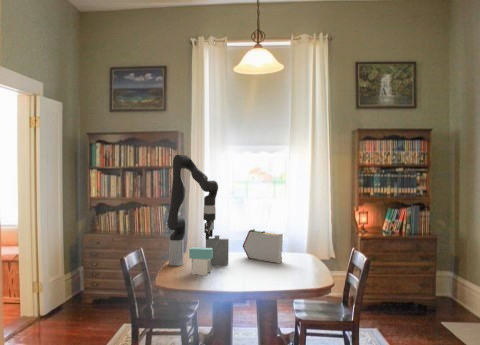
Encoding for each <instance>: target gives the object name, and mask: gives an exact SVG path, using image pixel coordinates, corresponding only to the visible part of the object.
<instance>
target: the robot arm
mask: <svg viewBox="0 0 480 345" xmlns="http://www.w3.org/2000/svg"><path fill="white" fill-rule="evenodd" d="M182 169H183V170H185V169H186V170H188V171H189V172H190V174H191V177H192V179H193V180H194V181H195V182H196V183H197V184H198V185H199V187H200V188H201V190H202V191H203V192H206V193H208V194H207V195H205V196H204V197H203V216H202V217H203V221H206V222H204V231H203V232H204V233H205V240H206V239H207V240H209V238H213V237H214V235H213V231H214V229H215V227H214V226H215V225H214V224H215V221H216V214H217V213H216V211H217V209H216V197H217V195H218V190H219V184H218V182H217V180H209V179H208V176H207V175H206V174H205V173H204V172H203V171H202V170H200V168H198V166H197V165H196V164H195V163H194V161H193V160H192V158H191V157H190V156H188V155H185V154H175V155H174V157H173V160H172V182H171V183H172V184H171V191H170V192H171V193H170V194H171V195H170V206H169V211H168V216H167V227H168V229H169V230H170V231H173V232H172V233H171V234H170V236H169V251H168V266H172V267H178V266H179V267H180V266H183V265H184V238H185V234H186V220H185V218H184V216H183V215H179V210H180V208H181V206H182V204H183V203H184V201H185V197H186V186H185V183H184V181H183V178H182Z"/></svg>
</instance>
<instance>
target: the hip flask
mask: <svg viewBox="0 0 480 345" xmlns="http://www.w3.org/2000/svg"><path fill="white" fill-rule="evenodd" d="M229 243H230V242H229V238H220V235H213V237H209V240H207V239H205V248H213V258H212V259H210V266H211V265H212V266H229V247H230V246H229Z"/></svg>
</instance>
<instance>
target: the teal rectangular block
mask: <svg viewBox="0 0 480 345" xmlns="http://www.w3.org/2000/svg"><path fill="white" fill-rule="evenodd" d="M188 252H189V253H188V255H189V257H188V258H189V259H191V260H192V259H212V258H213V248H206V247H197V246H195V247H193V246H192V247H189V251H188Z"/></svg>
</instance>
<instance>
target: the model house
mask: <svg viewBox="0 0 480 345" xmlns="http://www.w3.org/2000/svg"><path fill="white" fill-rule="evenodd" d="M283 240H284V239H283V233H272V232H266V231H260V230H259V231H256V229H249V231H248V232H247V235H246V237H245V239H244V241H243V244H242V248H243V250H244V252H245V254H246V257H247V259H249V260H251V259H255V260H259V261H266V262H270V263H276V264H278V263H279V264H280V262H281V263H283V256H282V253H283Z"/></svg>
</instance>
